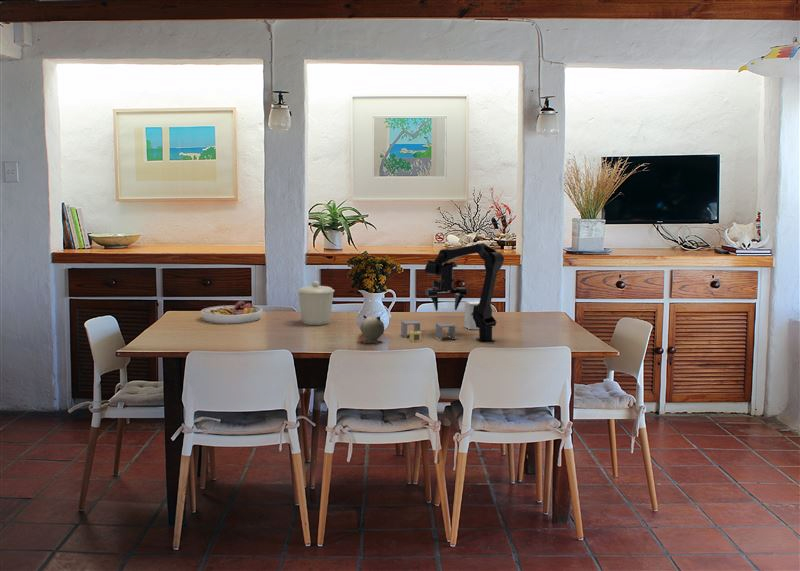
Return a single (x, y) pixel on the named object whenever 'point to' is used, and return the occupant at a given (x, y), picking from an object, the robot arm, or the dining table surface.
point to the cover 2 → (450, 332)
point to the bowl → (232, 313)
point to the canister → (315, 304)
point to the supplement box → (470, 314)
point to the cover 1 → (405, 323)
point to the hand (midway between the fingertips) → (446, 310)
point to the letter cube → (415, 336)
